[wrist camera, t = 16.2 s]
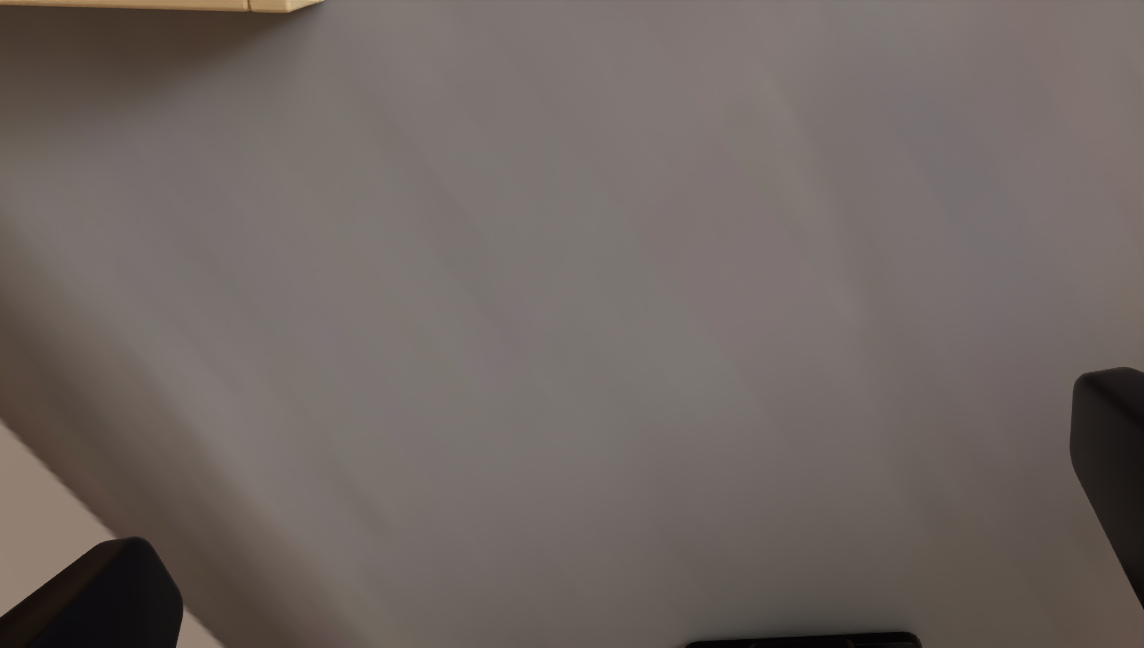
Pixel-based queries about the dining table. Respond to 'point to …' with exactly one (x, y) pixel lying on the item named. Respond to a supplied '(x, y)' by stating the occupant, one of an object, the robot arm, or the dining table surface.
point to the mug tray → (177, 4)
